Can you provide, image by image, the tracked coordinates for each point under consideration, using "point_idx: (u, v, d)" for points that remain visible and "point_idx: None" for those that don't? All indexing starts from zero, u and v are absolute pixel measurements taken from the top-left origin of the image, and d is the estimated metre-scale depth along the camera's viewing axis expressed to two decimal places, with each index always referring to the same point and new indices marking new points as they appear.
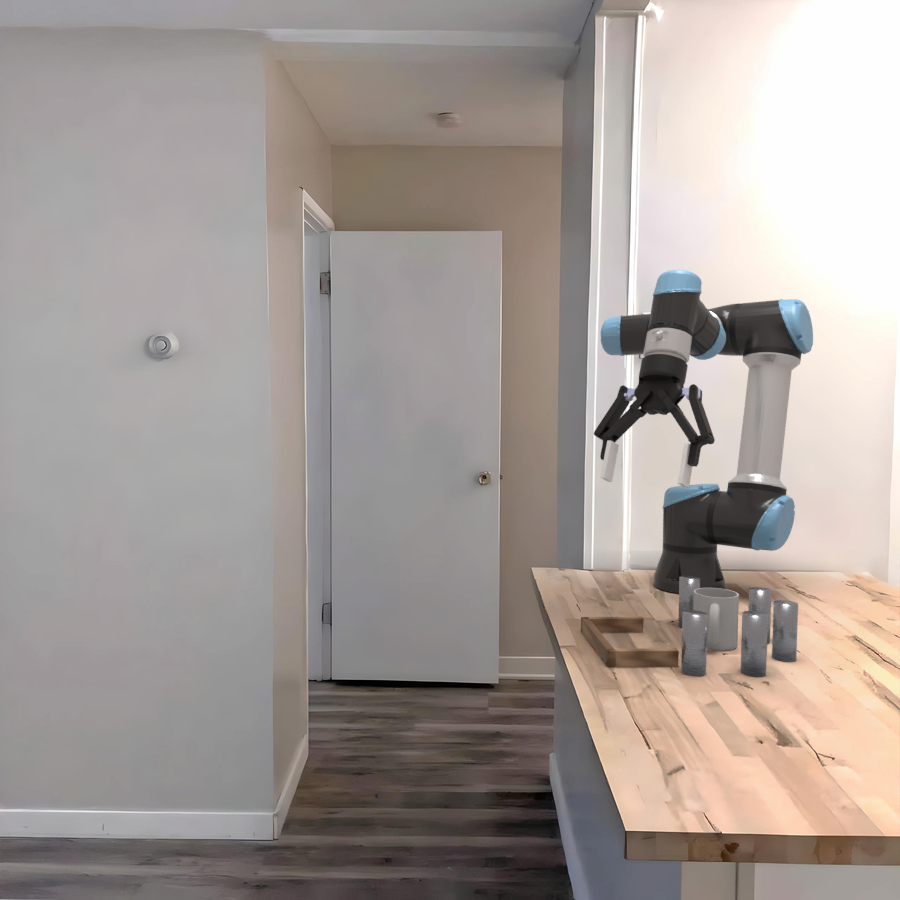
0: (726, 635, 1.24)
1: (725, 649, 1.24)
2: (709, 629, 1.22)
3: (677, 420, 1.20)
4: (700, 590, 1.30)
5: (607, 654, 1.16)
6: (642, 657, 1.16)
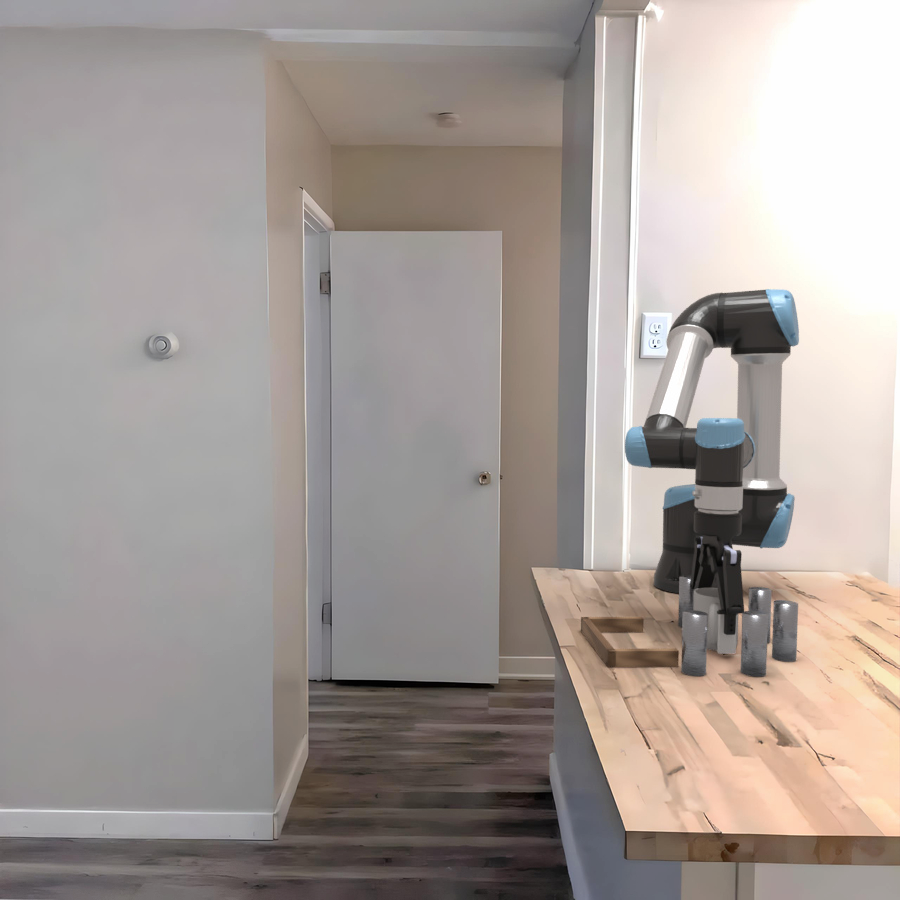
0: None
1: None
2: (709, 629, 1.22)
3: (717, 584, 1.22)
4: (700, 590, 1.30)
5: (607, 654, 1.16)
6: (642, 657, 1.16)
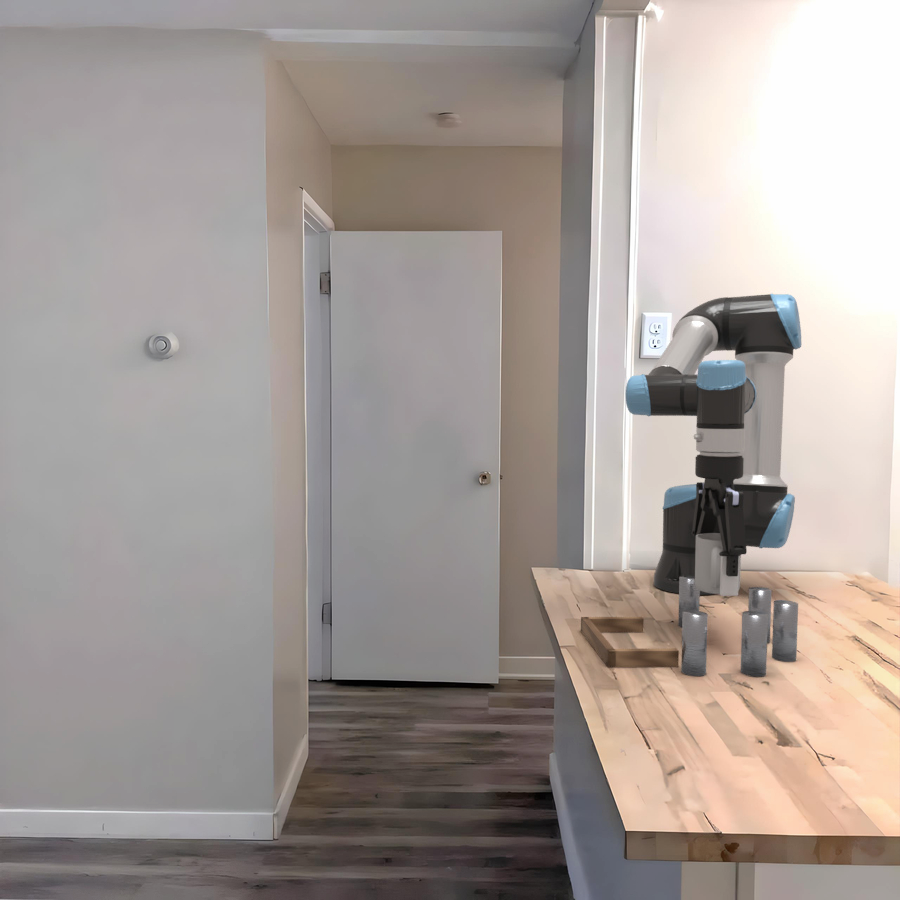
0: None
1: None
2: (712, 572, 1.22)
3: (719, 526, 1.22)
4: (702, 535, 1.30)
5: (607, 654, 1.16)
6: (642, 657, 1.16)
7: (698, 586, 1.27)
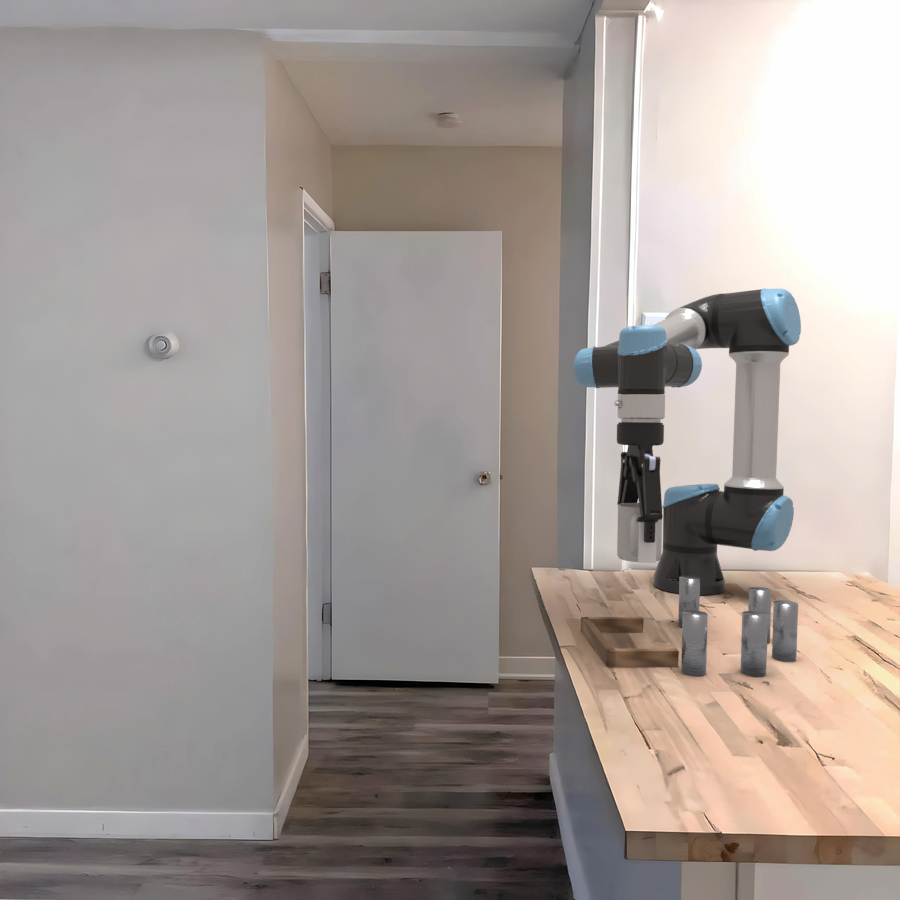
0: None
1: None
2: (630, 539, 1.21)
3: (638, 493, 1.21)
4: (625, 505, 1.29)
5: (607, 654, 1.16)
6: (642, 657, 1.16)
7: (619, 555, 1.25)
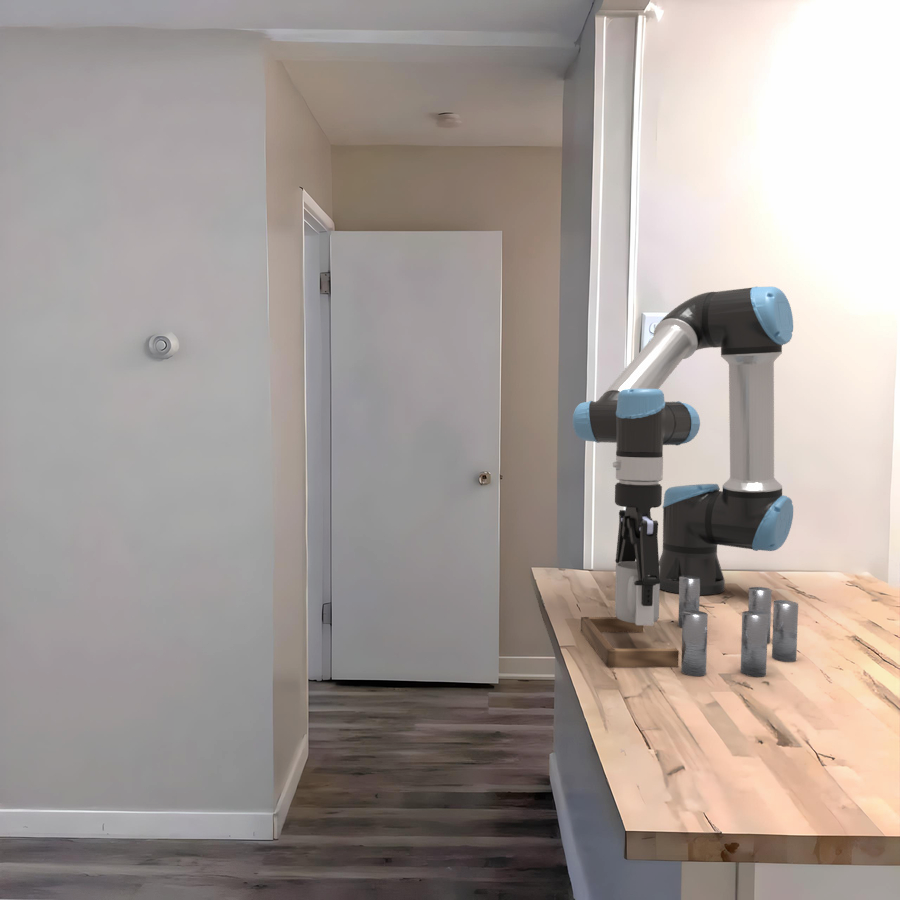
0: None
1: None
2: (628, 601, 1.21)
3: (635, 555, 1.21)
4: (623, 563, 1.29)
5: (607, 654, 1.16)
6: (642, 657, 1.16)
7: (617, 615, 1.26)
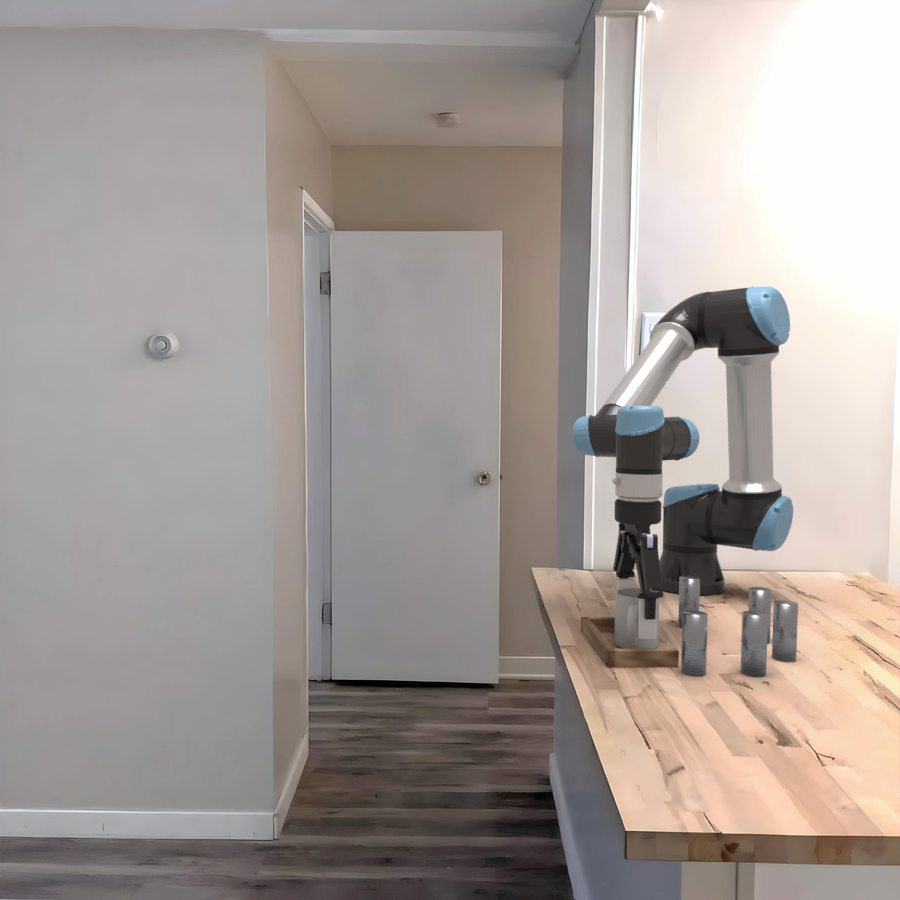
0: None
1: None
2: (627, 629, 1.22)
3: (637, 570, 1.21)
4: (623, 590, 1.30)
5: (607, 654, 1.16)
6: (642, 657, 1.16)
7: (616, 642, 1.26)
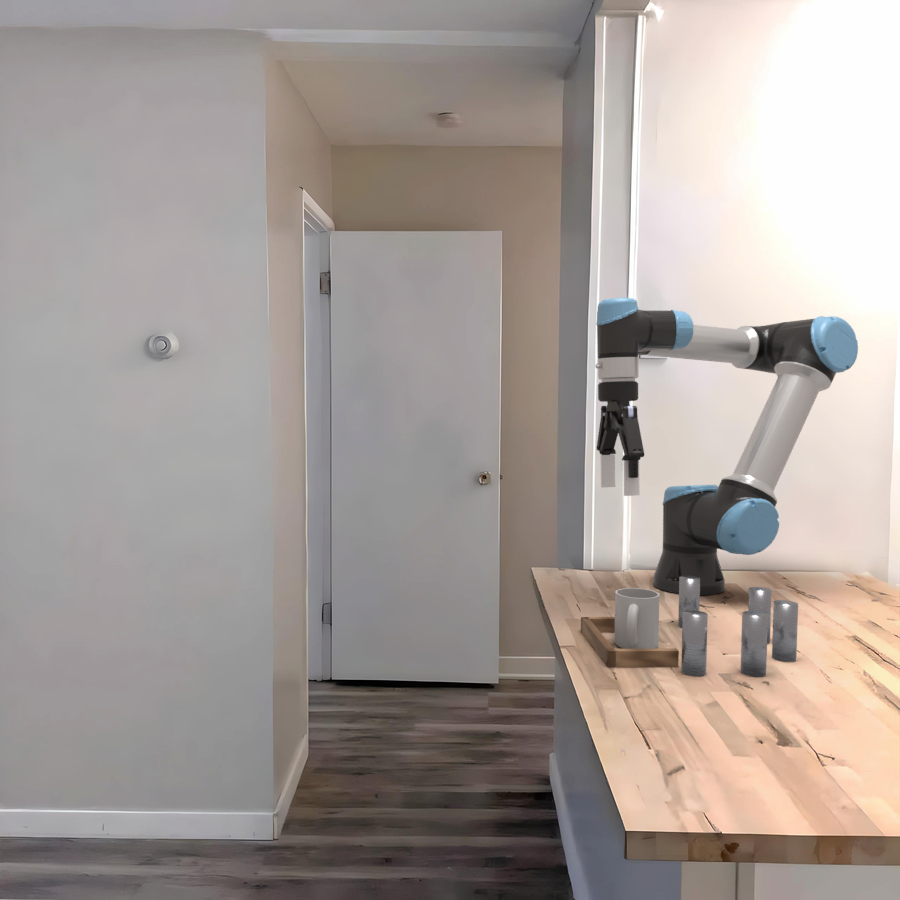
0: (645, 636, 1.24)
1: None
2: (627, 630, 1.22)
3: (620, 439, 1.40)
4: (623, 590, 1.30)
5: (607, 654, 1.16)
6: (642, 657, 1.16)
7: (616, 642, 1.26)
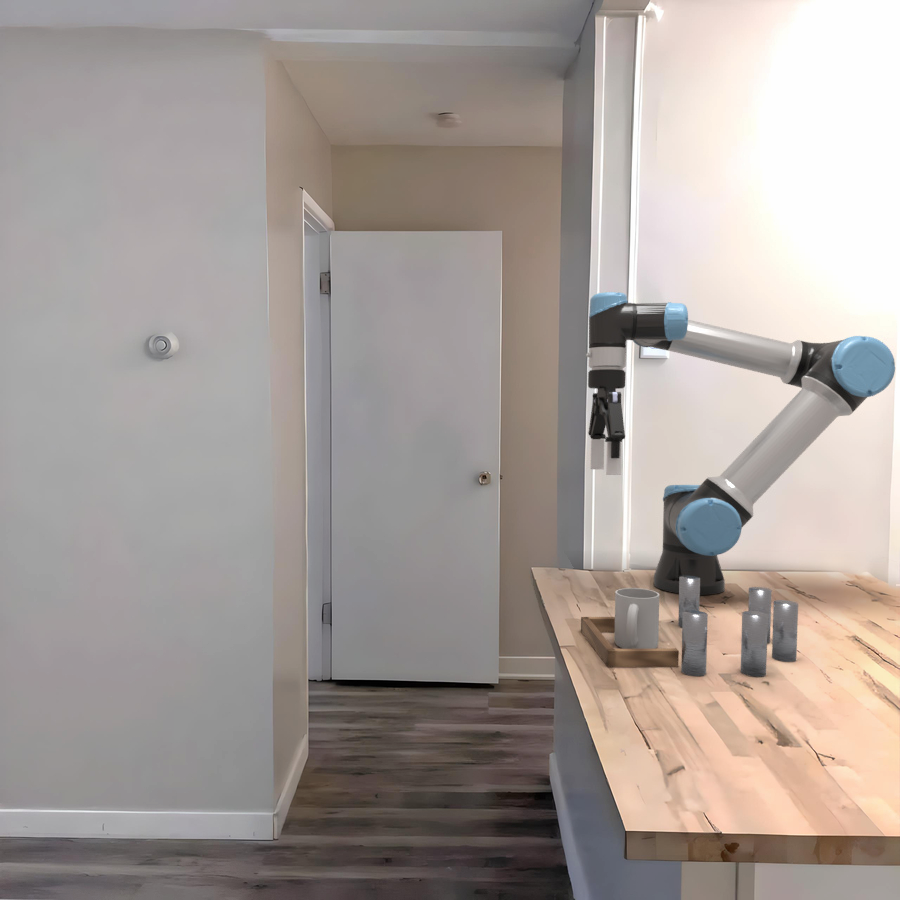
0: (645, 636, 1.24)
1: None
2: (627, 630, 1.22)
3: (605, 422, 1.51)
4: (623, 590, 1.30)
5: (607, 654, 1.16)
6: (642, 657, 1.16)
7: (616, 642, 1.26)
